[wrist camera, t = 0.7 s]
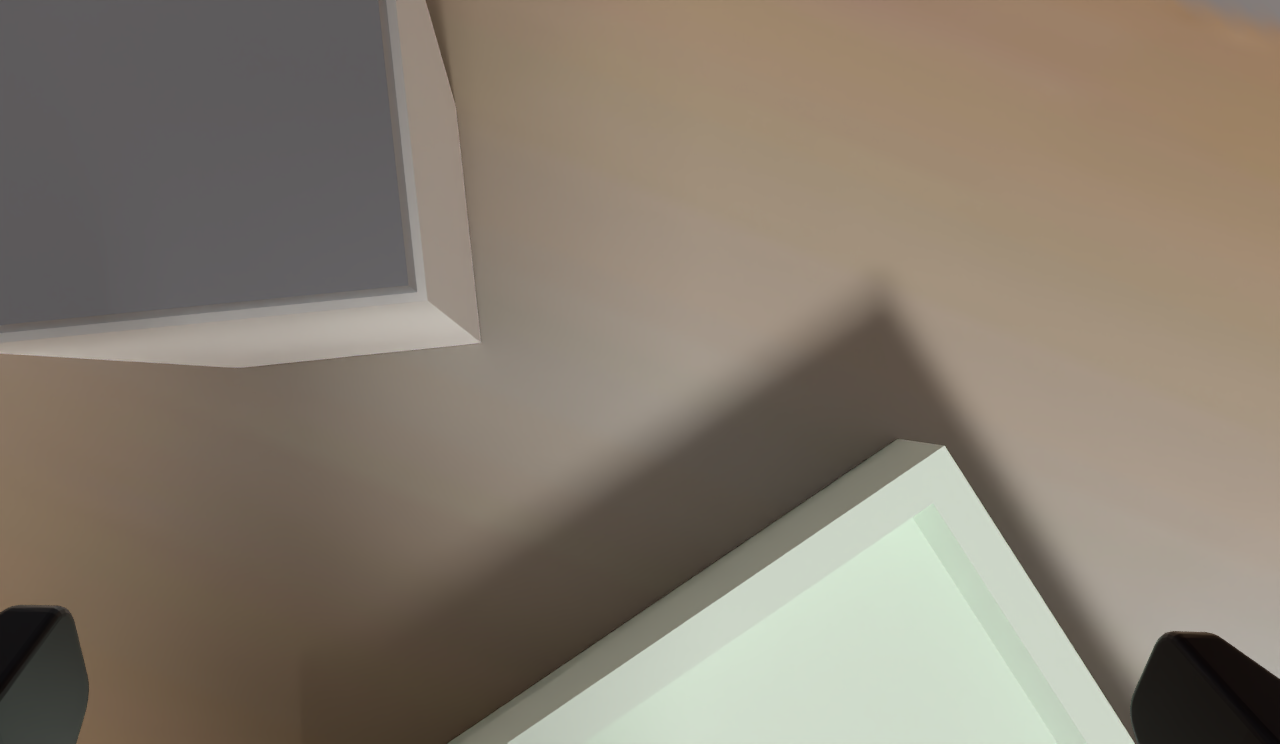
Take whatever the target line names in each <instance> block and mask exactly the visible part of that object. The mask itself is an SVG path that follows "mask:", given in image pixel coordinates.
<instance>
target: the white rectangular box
mask: <svg viewBox="0 0 1280 744" xmlns="http://www.w3.org/2000/svg"><path fill="white" fill-rule="evenodd" d="M476 343H481V336H480V326H479V317H478V308H477V298H476V289H475V279H474V270H473V261H472V251H471V242H470V233H469V223H468V214H467V205H466V195H465V186H464V177H463V167H462V158H461V148H460V139H459V130H458V120H457V111H456V105H455V102H454V98H453V95H452V91H451V88H450V84H449V81H448V77H447V74H446V70H445V67H444V63H443V60H442V56H441V53H440V49H439V46H438V42H437V39H436V35H435V32H434V28H433V25H432V21H431V18H430V14H429V11H428V7H427V4H426V0H0V354H17V355H33V356H49V357H66V358H82V359H99V360H115V361H131V362H148V363H164V364H181V365H197V366H213V367H230V368H244V367H253V366H263V365H273V364H283V363H292V362H302V361H312V360H321V359H331V358H341V357H350V356H360V355H370V354H379V353H389V352H399V351H409V350H418V349H428V348H438V347H447V346H457V345H467V344H476Z"/></svg>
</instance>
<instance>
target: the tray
mask: <svg viewBox="0 0 1280 744" xmlns="http://www.w3.org/2000/svg"><path fill="white" fill-rule="evenodd" d="M447 744H1135V743H1134V741H1133V740H1132V738H1131V737H1130V735H1129V734H1128V732H1127V730H1126V729H1125V727H1124V726H1123V724H1122V723H1121V721H1120V719H1119V718H1118V716H1117V715H1116V713H1115V712H1114V710H1113V709H1112V707H1111V705H1110V704H1109V702H1108V701H1107V699H1106V698H1105V696H1104V694H1103V693H1102V691H1101V690H1100V688H1099V687H1098V685H1097V683H1096V682H1095V680H1094V679H1093V677H1092V676H1091V674H1090V672H1089V671H1088V669H1087V668H1086V666H1085V665H1084V663H1083V662H1082V660H1081V658H1080V657H1079V655H1078V654H1077V652H1076V651H1075V649H1074V647H1073V646H1072V644H1071V643H1070V641H1069V640H1068V638H1067V636H1066V635H1065V633H1064V632H1063V630H1062V629H1061V627H1060V626H1059V624H1058V622H1057V621H1056V619H1055V618H1054V616H1053V615H1052V613H1051V611H1050V610H1049V608H1048V607H1047V605H1046V604H1045V602H1044V600H1043V599H1042V597H1041V596H1040V594H1039V593H1038V591H1037V590H1036V588H1035V586H1034V585H1033V583H1032V582H1031V580H1030V579H1029V577H1028V575H1027V574H1026V572H1025V571H1024V569H1023V568H1022V566H1021V564H1020V563H1019V561H1018V560H1017V558H1016V557H1015V555H1014V553H1013V552H1012V550H1011V549H1010V547H1009V546H1008V544H1007V543H1006V541H1005V539H1004V538H1003V536H1002V535H1001V533H1000V532H999V530H998V528H997V527H996V525H995V524H994V522H993V521H992V519H991V517H990V516H989V514H988V513H987V511H986V510H985V508H984V507H983V505H982V503H981V502H980V500H979V499H978V497H977V496H976V494H975V492H974V491H973V489H972V488H971V486H970V485H969V483H968V481H967V480H966V478H965V477H964V475H963V474H962V472H961V471H960V469H959V467H958V466H957V464H956V463H955V461H954V460H953V458H952V456H951V455H950V453H949V452H948V450H947V449H946V447H945V446H944V445H937V444H931V443H924V442H917V441H910V440H903V439H896V440H895V441H894V442H892V443H891V444H889V445H888V446H886V447H885V448H883V449H882V450H880V451H879V452H877V453H876V454H874V455H873V456H871V457H870V458H868V459H867V460H865V461H864V462H862V463H861V464H860V465H858V466H857V467H855V468H854V469H852V470H851V471H849V472H848V473H846V474H845V475H843V476H842V477H840V478H839V479H837V480H836V481H834V482H833V483H831V484H830V485H828V486H827V487H826V488H824V489H823V490H821V491H820V492H818V493H817V494H815V495H814V496H812V497H811V498H809V499H808V500H806V501H805V502H803V503H802V504H800V505H799V506H797V507H796V508H794V509H793V510H792V511H790V512H789V513H787V514H786V515H784V516H783V517H781V518H780V519H778V520H777V521H775V522H774V523H772V524H771V525H769V526H768V527H766V528H765V529H763V530H762V531H760V532H759V533H758V534H756V535H755V536H753V537H752V538H750V539H749V540H747V541H746V542H744V543H743V544H741V545H740V546H738V547H737V548H735V549H734V550H732V551H731V552H729V553H728V554H726V555H725V556H724V557H722V558H721V559H719V560H718V561H716V562H715V563H713V564H712V565H710V566H709V567H707V568H706V569H704V570H703V571H701V572H700V573H698V574H697V575H695V576H694V577H692V578H691V579H690V580H688V581H687V582H685V583H684V584H682V585H681V586H679V587H678V588H676V589H675V590H673V591H672V592H670V593H669V594H667V595H666V596H664V597H663V598H661V599H660V600H658V601H657V602H656V603H654V604H653V605H651V606H650V607H648V608H647V609H645V610H644V611H642V612H641V613H639V614H638V615H636V616H635V617H633V618H632V619H630V620H629V621H627V622H626V623H624V624H623V625H622V626H620V627H619V628H617V629H616V630H614V631H613V632H611V633H610V634H608V635H607V636H605V637H604V638H602V639H601V640H599V641H598V642H596V643H595V644H593V645H592V646H590V647H589V648H588V649H586V650H585V651H583V652H582V653H580V654H579V655H577V656H576V657H574V658H573V659H571V660H570V661H568V662H567V663H565V664H564V665H562V666H561V667H559V668H558V669H556V670H555V671H554V672H552V673H551V674H549V675H548V676H546V677H545V678H543V679H542V680H540V681H539V682H537V683H536V684H534V685H533V686H531V687H530V688H528V689H527V690H525V691H524V692H522V693H521V694H520V695H518V696H517V697H515V698H514V699H512V700H511V701H509V702H508V703H506V704H505V705H503V706H502V707H500V708H499V709H497V710H496V711H494V712H493V713H491V714H490V715H488V716H487V717H486V718H484V719H483V720H481V721H480V722H478V723H477V724H475V725H474V726H472V727H471V728H469V729H468V730H466V731H465V732H463V733H462V734H460V735H459V736H457V737H456V738H454V739H453V740H452V741H450V742H449V743H447Z"/></svg>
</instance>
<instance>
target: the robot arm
mask: <svg viewBox="0 0 1280 744" xmlns="http://www.w3.org/2000/svg"><path fill="white" fill-rule="evenodd" d="M88 694H89V682H88V676H87V672H86V667H85V663H84V659H83V655H82V651H81V647H80V643H79V638H78V634H77V630H76V626H75V622H74V619H73V617H72V614H71V613H70V612H69V610H67V609H66V608H64V607H61V606H49V605H16V606H12V607H9V608H7V609H5V610H4V611H2V612H0V744H76V742H77V739H78V735H79V732H80V729H81V725H82V722H83V719H84V715H85V712H86V708H87V702H88ZM1130 716H1131V723H1132V727H1133V731H1134V734H1135V738H1136V741H1137V744H1280V679H1279V678H1277V677H1276V676H1275V675H1273V674H1272V673H1270V672H1269V671H1267V670H1266V669H1265V668H1263V667H1262V666H1260V665H1259V664H1258V663H1256V662H1255V661H1253V660H1252V659H1250V658H1249V657H1248V656H1246V655H1245V654H1243V653H1242V652H1241V651H1239V650H1238V649H1236V648H1235V647H1233V646H1232V645H1231V644H1229V643H1228V642H1226V641H1225V640H1223V639H1222V638H1220V637H1219V636H1217V635H1215V634H1212V633H1207V632H1179V631H1172V632H1167V633H1165V634H1164V635H1162V636H1161V637H1160V638H1159V639H1158V640H1157V642H1156V644H1155V646H1154V648H1153V650H1152V653H1151V655H1150V657H1149V659H1148V662H1147V664H1146V666H1145V668H1144V670H1143V673H1142V675H1141V677H1140V679H1139V682H1138V684H1137V686H1136V688H1135V691H1134V693H1133V696H1132V700H1131V706H1130Z"/></svg>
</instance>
